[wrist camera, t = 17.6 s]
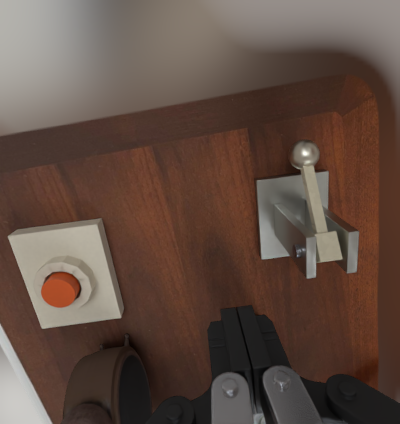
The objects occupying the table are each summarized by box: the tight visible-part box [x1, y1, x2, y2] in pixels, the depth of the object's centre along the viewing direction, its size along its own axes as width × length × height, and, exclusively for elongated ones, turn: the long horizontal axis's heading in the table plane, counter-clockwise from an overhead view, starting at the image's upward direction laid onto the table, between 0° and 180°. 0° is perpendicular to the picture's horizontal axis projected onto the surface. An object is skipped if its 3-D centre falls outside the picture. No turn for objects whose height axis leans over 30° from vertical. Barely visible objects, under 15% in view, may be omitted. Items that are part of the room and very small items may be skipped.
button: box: [41, 272, 80, 308], centre depth 36 cm, size 4×4×2 cm
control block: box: [8, 218, 124, 329], centre depth 39 cm, size 14×11×4 cm
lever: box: [288, 140, 342, 263], centre depth 31 cm, size 13×3×3 cm
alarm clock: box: [61, 334, 152, 424], centre depth 36 cm, size 15×7×20 cm, turn 15°
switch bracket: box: [254, 169, 359, 279], centre depth 34 cm, size 11×9×12 cm
